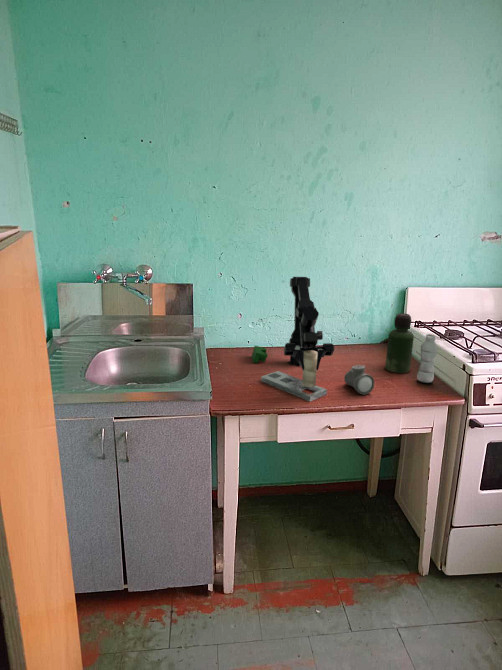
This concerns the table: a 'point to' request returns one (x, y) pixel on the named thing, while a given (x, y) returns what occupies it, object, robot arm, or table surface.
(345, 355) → the table surface
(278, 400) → the table surface
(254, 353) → the clamp
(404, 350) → the green bottle
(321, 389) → the grey slotted plate
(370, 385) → the pipe fitting
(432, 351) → the plastic bottle
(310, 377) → the pin
